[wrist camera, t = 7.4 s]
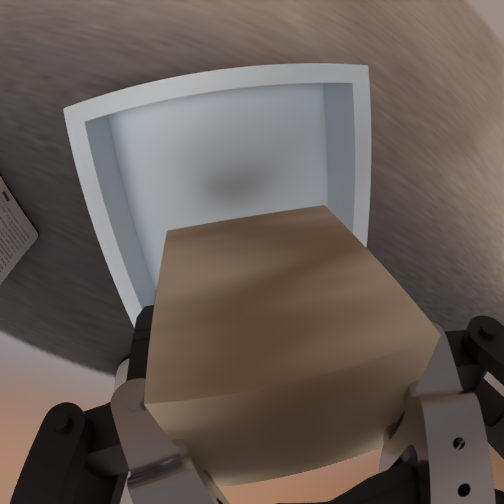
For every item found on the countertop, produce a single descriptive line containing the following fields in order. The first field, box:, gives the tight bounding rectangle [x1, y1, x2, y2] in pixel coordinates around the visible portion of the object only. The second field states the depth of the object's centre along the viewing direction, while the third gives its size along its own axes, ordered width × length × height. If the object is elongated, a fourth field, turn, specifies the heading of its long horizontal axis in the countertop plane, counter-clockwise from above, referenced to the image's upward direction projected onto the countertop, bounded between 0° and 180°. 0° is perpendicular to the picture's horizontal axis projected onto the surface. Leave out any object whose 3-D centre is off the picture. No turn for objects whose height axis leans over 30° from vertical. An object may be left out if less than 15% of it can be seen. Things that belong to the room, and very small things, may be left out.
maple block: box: [144, 205, 441, 487], centre depth 8 cm, size 5×5×6 cm
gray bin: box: [63, 63, 371, 328], centre depth 18 cm, size 15×15×5 cm
